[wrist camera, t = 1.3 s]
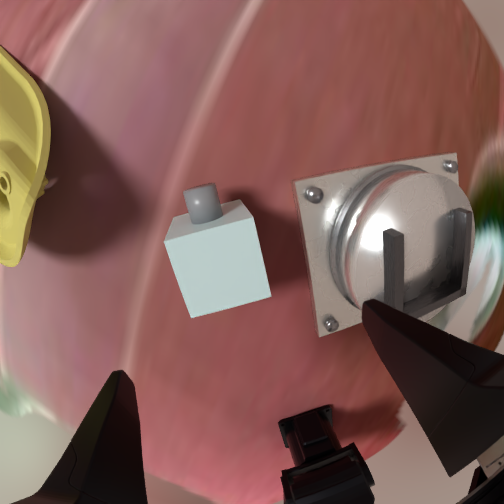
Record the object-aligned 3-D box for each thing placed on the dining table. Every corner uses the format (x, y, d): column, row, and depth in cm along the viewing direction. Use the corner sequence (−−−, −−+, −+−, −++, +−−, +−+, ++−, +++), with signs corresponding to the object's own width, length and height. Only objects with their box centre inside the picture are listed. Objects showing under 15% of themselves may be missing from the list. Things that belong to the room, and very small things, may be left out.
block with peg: (254, 260, 23) (271, 296, 18) (192, 277, 23) (191, 318, 17) (233, 172, 21) (245, 181, 15) (166, 190, 20) (153, 206, 15)
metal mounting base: (449, 278, 28) (487, 303, 22) (315, 331, 27) (342, 376, 21) (449, 152, 23) (499, 159, 17) (290, 180, 22) (324, 193, 16)
